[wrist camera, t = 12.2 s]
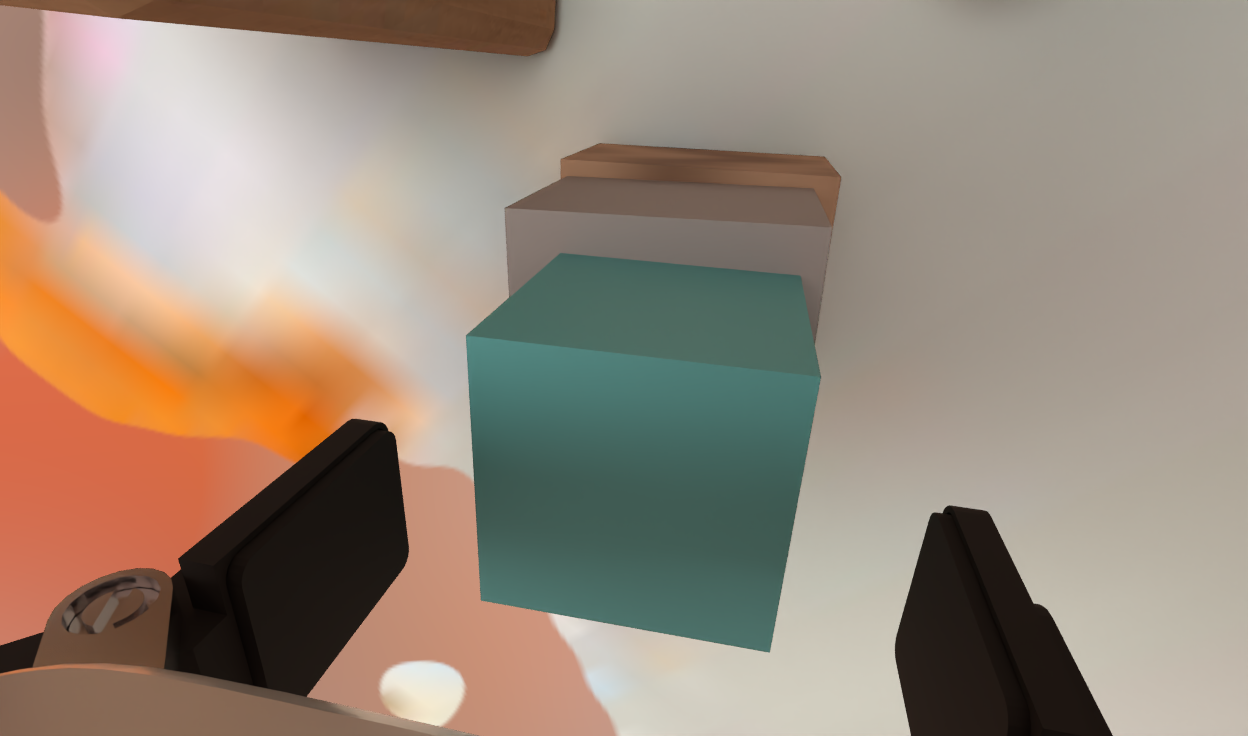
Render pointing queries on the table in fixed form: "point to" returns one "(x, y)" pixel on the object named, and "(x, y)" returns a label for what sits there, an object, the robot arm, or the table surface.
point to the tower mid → (673, 228)
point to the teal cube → (642, 444)
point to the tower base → (708, 168)
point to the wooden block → (349, 19)
